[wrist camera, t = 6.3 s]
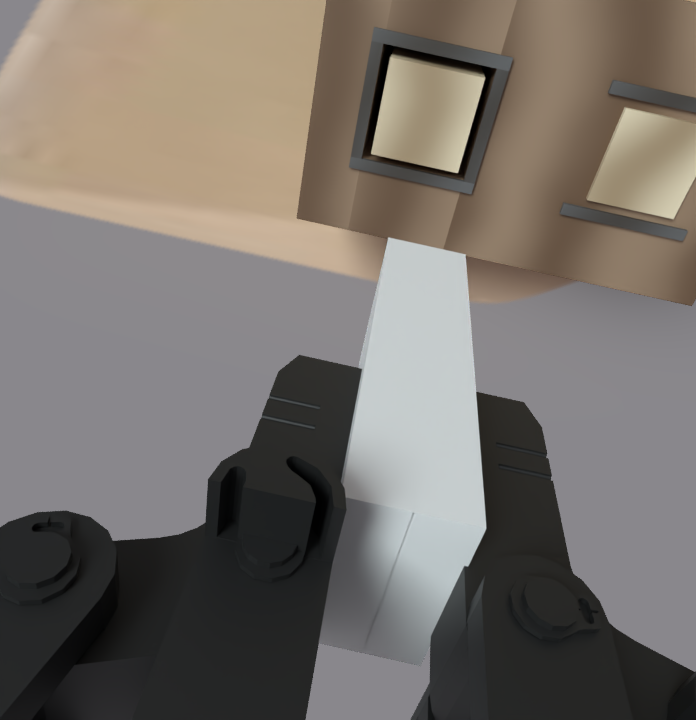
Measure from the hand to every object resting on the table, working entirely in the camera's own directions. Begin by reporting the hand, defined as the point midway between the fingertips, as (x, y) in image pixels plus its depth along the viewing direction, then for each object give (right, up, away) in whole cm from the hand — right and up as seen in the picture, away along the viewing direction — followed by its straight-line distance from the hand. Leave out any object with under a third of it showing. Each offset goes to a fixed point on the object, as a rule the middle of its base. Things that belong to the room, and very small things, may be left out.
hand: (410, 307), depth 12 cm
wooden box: (+8, +14, +22) cm, 27 cm away
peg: (+3, +14, +20) cm, 25 cm away
